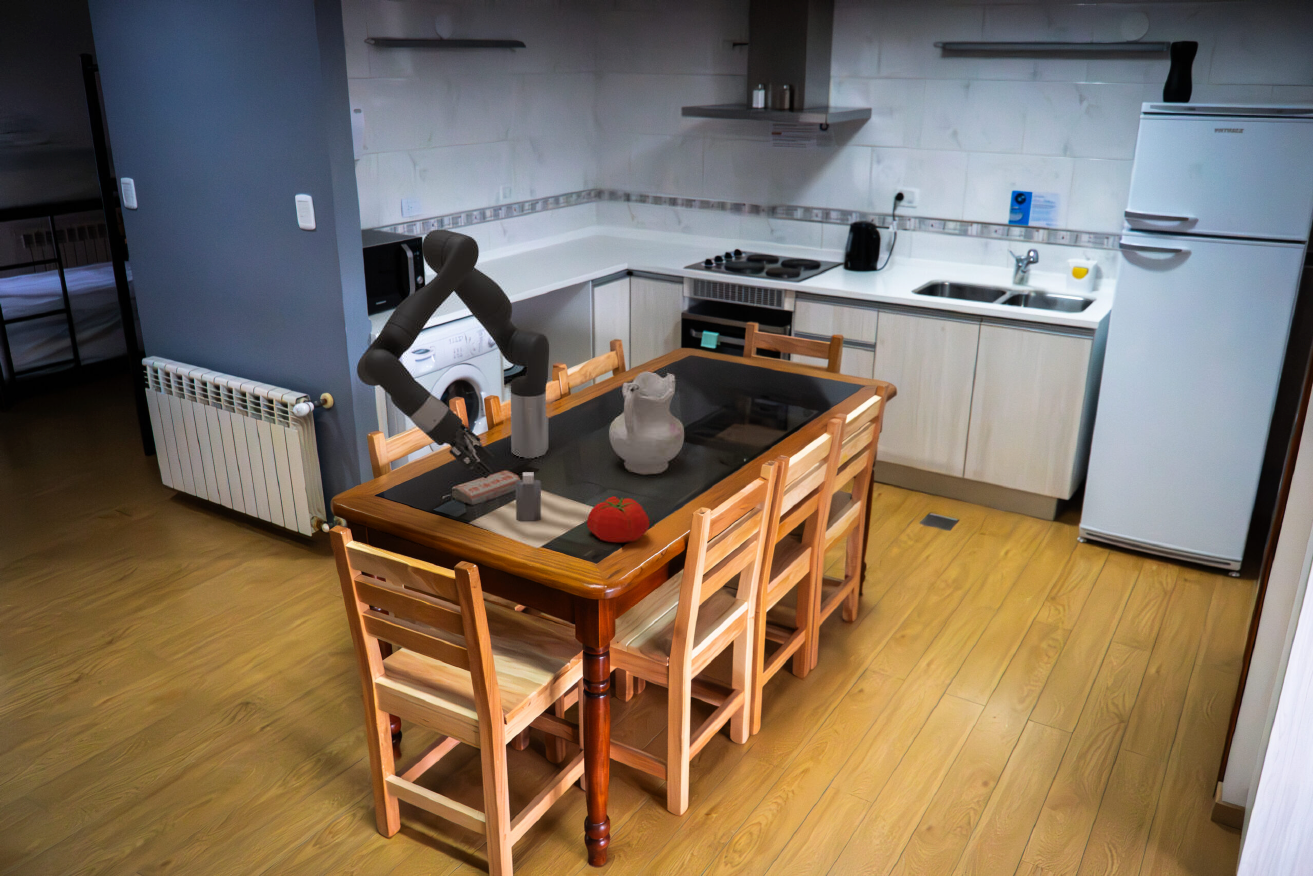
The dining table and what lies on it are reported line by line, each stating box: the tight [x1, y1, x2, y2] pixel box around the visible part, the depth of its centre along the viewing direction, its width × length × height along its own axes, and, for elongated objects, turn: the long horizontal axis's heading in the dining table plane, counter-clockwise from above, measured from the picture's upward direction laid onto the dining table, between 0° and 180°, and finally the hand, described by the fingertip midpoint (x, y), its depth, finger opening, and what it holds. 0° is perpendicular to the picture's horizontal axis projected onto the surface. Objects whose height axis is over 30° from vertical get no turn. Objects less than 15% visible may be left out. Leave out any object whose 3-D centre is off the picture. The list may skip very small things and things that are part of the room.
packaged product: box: [442, 469, 521, 506], centre depth 240 cm, size 18×5×10 cm
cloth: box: [468, 489, 595, 549], centre depth 230 cm, size 24×20×1 cm
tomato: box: [586, 496, 650, 544], centre depth 223 cm, size 14×13×9 cm
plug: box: [515, 471, 542, 522], centre depth 226 cm, size 3×6×11 cm, turn 97°
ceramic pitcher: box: [608, 370, 685, 476], centre depth 258 cm, size 22×20×25 cm
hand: (490, 467), depth 223 cm, fingers open, 8 cm apart
